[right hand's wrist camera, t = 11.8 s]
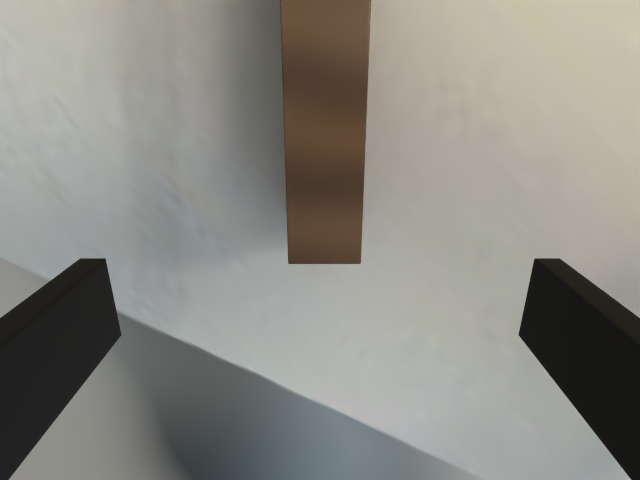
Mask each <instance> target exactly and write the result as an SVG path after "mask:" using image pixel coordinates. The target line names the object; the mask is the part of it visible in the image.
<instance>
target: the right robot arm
mask: <svg viewBox="0 0 640 480" xmlns="http://www.w3.org/2000/svg"><path fill="white" fill-rule="evenodd" d="M120 336H121V331H120V326H119V321H118V317H117V312H116V307H115V302H114V297H113V292H112V288H111V283H110V278H109V273H108V268H107V264H106V259H79V260H78V261H77V262H75V263H74V264H72V265H71V266H70V267H68V268H67V269H66V270H64V271H63V272H62V273H60V274H59V275H58V276H56V277H55V278H54V279H52V280H51V281H50V282H48V283H47V284H46V285H44V286H43V287H42V288H40V289H39V290H38V291H36V292H35V293H34V294H32V295H31V296H30V297H28V298H27V299H25V300H24V301H23V302H21V303H20V304H19V305H17V306H16V307H15V308H13V309H12V310H11V311H9V312H8V313H7V314H5V315H4V316H3V317H1V318H0V480H9V478H10V477H11V476H12V474H13V473H14V472H15V471H16V469H17V468H18V467H19V466H20V464H21V463H22V462H23V460H24V459H25V458H26V457H27V455H28V454H29V453H30V451H31V450H32V449H33V448H34V446H35V445H36V444H37V442H38V441H39V440H40V439H41V437H42V436H43V435H44V434H45V432H46V431H47V430H48V428H49V427H50V426H51V425H52V423H53V422H54V421H55V419H56V418H57V417H58V416H59V414H60V413H61V412H62V410H63V409H64V408H65V407H66V405H67V404H68V403H69V401H70V400H71V399H72V398H73V396H74V395H75V394H76V392H77V391H78V390H79V389H80V387H81V386H82V385H83V383H84V382H85V381H86V380H87V378H88V377H89V376H90V375H91V373H92V372H93V371H94V369H95V368H96V367H97V365H98V364H99V363H100V362H101V360H102V359H103V358H104V357H105V355H106V354H107V353H108V351H109V350H110V349H111V348H112V346H113V345H114V344H115V342H116V341H117V340H118V339H119V337H120ZM519 336H520V337H521V339H522V340H523V341H524V342H525V344H526V345H527V346H528V348H529V349H530V350H531V351H532V353H533V354H534V355H535V357H536V358H537V359H538V360H539V362H540V363H541V364H542V366H543V367H544V368H545V369H546V371H547V372H548V373H549V375H550V376H551V377H552V378H553V380H554V381H555V382H556V383H557V385H558V386H559V387H560V389H561V390H562V391H563V392H564V394H565V395H566V396H567V398H568V399H569V400H570V401H571V403H572V404H573V405H574V407H575V408H576V409H577V410H578V412H579V413H580V414H581V416H582V417H583V418H584V419H585V421H586V422H587V423H588V425H589V426H590V427H591V428H592V430H593V431H594V432H595V434H596V435H597V436H598V437H599V439H600V440H601V441H602V442H603V444H604V445H605V446H606V448H607V449H608V450H609V451H610V453H611V454H612V455H613V457H614V458H615V459H616V460H617V462H618V463H619V464H620V466H621V467H622V468H623V469H624V471H625V472H626V473H627V475H628V476H629V477H630V478H631V480H640V318H639V317H637V316H636V315H635V314H633V313H632V312H631V311H629V310H628V309H627V308H625V307H624V306H623V305H621V304H620V303H619V302H617V301H616V300H615V299H613V298H612V297H610V296H609V295H608V294H606V293H605V292H604V291H602V290H601V289H600V288H598V287H597V286H596V285H594V284H593V283H592V282H590V281H589V280H588V279H586V278H585V277H584V276H582V275H581V274H580V273H578V272H577V271H576V270H574V269H573V268H572V267H570V266H569V265H568V264H566V263H565V262H563V261H562V260H561V259H534V264H533V268H532V273H531V278H530V283H529V288H528V292H527V297H526V302H525V307H524V312H523V317H522V321H521V326H520V331H519Z"/></svg>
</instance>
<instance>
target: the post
mask: <svg viewBox="0 0 640 480" xmlns="http://www.w3.org/2000/svg"><path fill="white" fill-rule="evenodd" d="M280 11H281V43H282V75H283V107H284V139H285V171H286V203H287V235H288V263H289V264H360V263H361V242H362V217H363V191H364V165H365V140H366V114H367V89H368V63H369V37H370V12H371V0H280Z"/></svg>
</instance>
